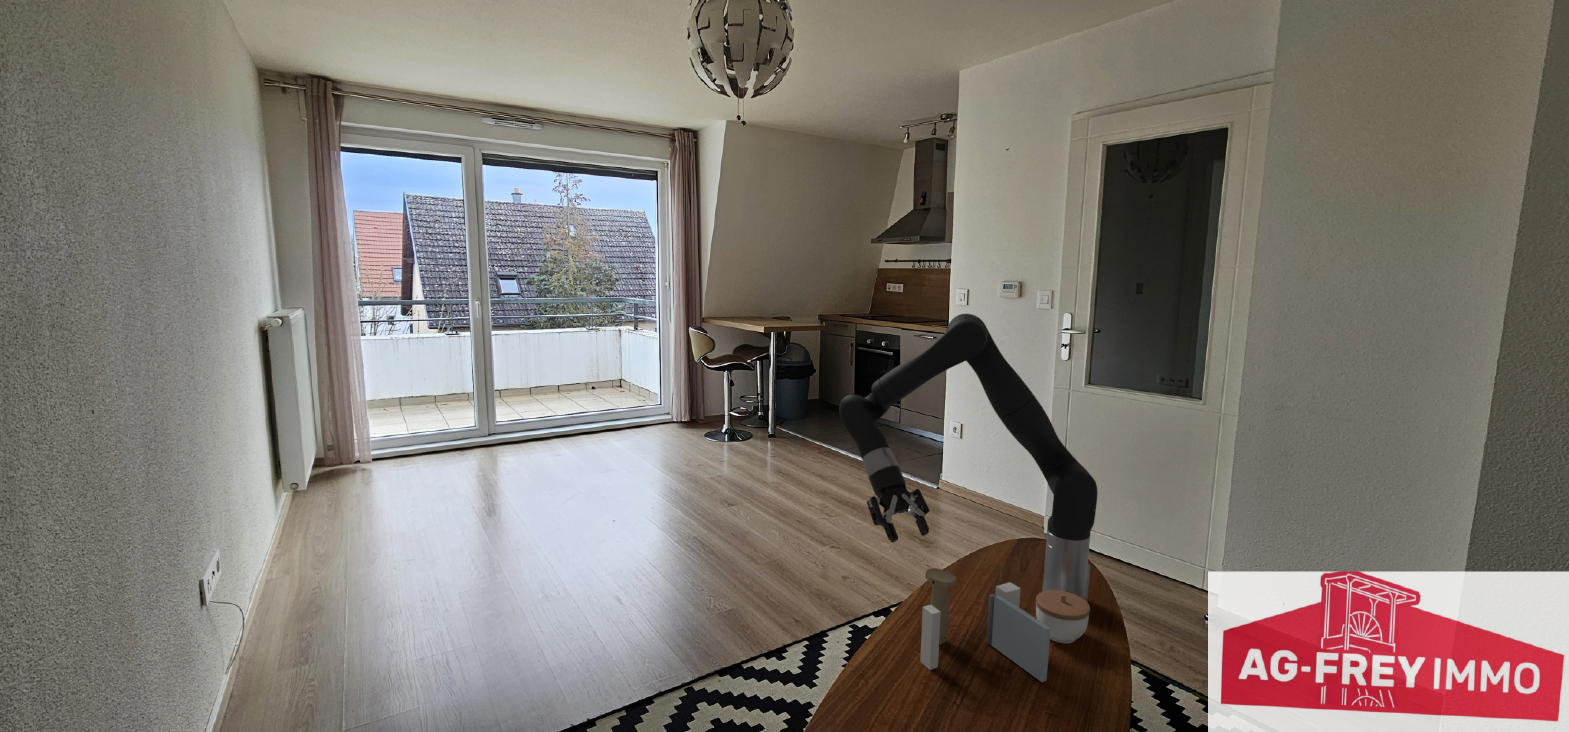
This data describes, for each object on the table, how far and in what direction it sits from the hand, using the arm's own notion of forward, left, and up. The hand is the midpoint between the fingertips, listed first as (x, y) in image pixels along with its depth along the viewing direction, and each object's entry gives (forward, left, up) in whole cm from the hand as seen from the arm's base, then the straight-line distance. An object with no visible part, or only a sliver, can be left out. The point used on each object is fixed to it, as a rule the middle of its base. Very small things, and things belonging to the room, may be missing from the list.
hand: (910, 537), depth 150 cm
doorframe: (-3, +17, -19) cm, 25 cm away
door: (-9, +23, -18) cm, 31 cm away
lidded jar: (-25, +21, -19) cm, 38 cm away
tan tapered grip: (0, +11, -19) cm, 22 cm away
